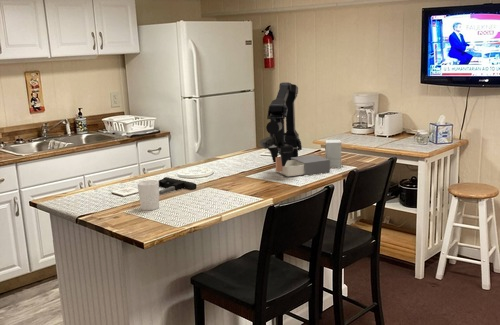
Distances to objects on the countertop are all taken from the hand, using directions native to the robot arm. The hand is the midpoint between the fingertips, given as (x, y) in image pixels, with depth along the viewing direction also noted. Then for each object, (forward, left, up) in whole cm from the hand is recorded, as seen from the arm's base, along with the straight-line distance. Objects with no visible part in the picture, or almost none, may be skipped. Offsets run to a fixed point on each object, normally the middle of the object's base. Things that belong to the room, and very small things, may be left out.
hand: (278, 164), depth 239 cm
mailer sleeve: (0, +16, -5) cm, 17 cm away
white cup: (+21, -64, -5) cm, 68 cm away
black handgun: (-2, -51, -6) cm, 51 cm away
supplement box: (-3, +31, -5) cm, 31 cm away
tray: (0, +6, -5) cm, 8 cm away
